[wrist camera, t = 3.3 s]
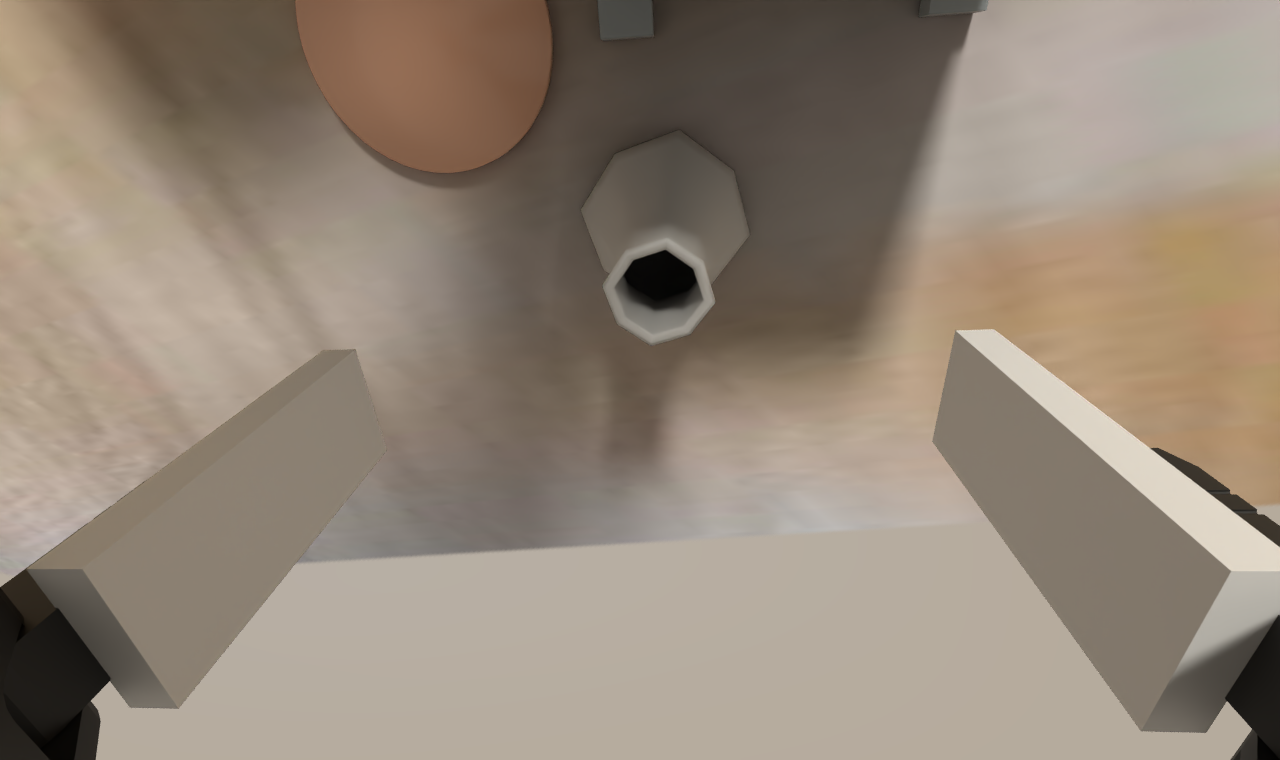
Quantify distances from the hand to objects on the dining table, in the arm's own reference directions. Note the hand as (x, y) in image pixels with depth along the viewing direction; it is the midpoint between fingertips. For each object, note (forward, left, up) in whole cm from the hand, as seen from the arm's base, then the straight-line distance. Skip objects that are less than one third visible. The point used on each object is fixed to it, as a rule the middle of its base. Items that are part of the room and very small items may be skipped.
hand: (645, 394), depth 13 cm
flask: (-1, 0, -15) cm, 15 cm away
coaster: (-8, -9, -15) cm, 19 cm away
